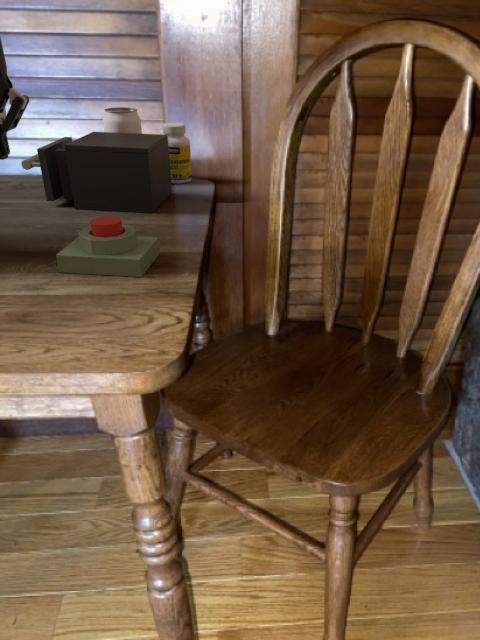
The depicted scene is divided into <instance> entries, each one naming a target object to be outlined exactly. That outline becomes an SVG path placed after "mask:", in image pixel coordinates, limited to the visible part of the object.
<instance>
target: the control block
mask: <svg viewBox="0 0 480 640" xmlns="http://www.w3.org/2000/svg"><path fill="white" fill-rule="evenodd" d="M122 229H123V234H121V235H118V236H113V237H95V236H92V230H91V225H89V226H85V227H83V228H82V229H81V230H79V232H78V236H77V237H76V238H75V239H74V240H73V241H71V242H70V243H69V244H67V245H66V246H65V247H64V248H62V249H61V250H60V251H59V252H58V253H56V255H55V256H56V261H57V266H58V272H59V273H62V274H79V275H96V276H97V275H99V276H113V277H114V276H115V277H131V278H143V276H144V275H145V273H146V272H147V271H148V269H150V267H151V266H152V264H153V263H154V262H155V260H156V259H157V258H158V257H159V255H160V244H159V243H160V242H159V237H158V236H157V237H156V236H139V235H137V230H136V229H135V227H133V226H132V225H128V224H125V223H122Z"/></svg>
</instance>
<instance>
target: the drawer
mask: <svg viewBox="0 0 480 640" xmlns="http://www.w3.org/2000/svg"><path fill="white" fill-rule="evenodd" d="M72 141H73V137H72V136H64V137H61V138H59V139H56V140H54V141H53V142H50V143H48V144H46V145H43V146H41V147H39V148H36V151H37V153H36V154H34V155H32V156H30V157H28V158H25V159H22V161H21V167H22V168H23V169H24V170H26V171H29V170H31V169H33V168H40V172H41V177H42V183H43V189H44V193H45V199H46V201H47V202H55V201H57V200H58V199H60V198H62V197H63V199H68V200H74V198H73V192H72V186H71V180H70V174H69V168H68V162H67V156H66V150H65V144H68V143H70V142H72Z"/></svg>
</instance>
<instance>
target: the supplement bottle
mask: <svg viewBox="0 0 480 640" xmlns="http://www.w3.org/2000/svg"><path fill="white" fill-rule="evenodd" d="M186 131H187V130H186V124H185V123H181V122H164V123H162V133H163V135H167V136H168V148H169V161H170V174H171V184H174V185H175V184H176V185H177V184H186V183H189V182H191V181H192V154H191V141H190V139H189V138H188V137H187V136H185V134H186Z"/></svg>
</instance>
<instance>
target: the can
mask: <svg viewBox="0 0 480 640" xmlns="http://www.w3.org/2000/svg"><path fill="white" fill-rule="evenodd" d="M102 122H103V128H104V132H113V133H137V134H143V129H142V119H141V117H140V115H139V113H138V109H137V108H135V107H123V106H122V107H121V106H120V107H118V106H117V107H107V108H104V116H103V121H102Z"/></svg>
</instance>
